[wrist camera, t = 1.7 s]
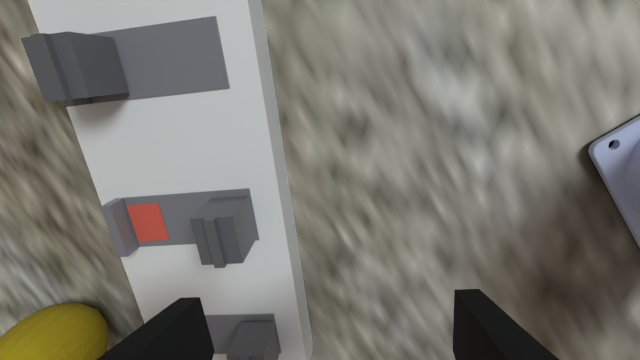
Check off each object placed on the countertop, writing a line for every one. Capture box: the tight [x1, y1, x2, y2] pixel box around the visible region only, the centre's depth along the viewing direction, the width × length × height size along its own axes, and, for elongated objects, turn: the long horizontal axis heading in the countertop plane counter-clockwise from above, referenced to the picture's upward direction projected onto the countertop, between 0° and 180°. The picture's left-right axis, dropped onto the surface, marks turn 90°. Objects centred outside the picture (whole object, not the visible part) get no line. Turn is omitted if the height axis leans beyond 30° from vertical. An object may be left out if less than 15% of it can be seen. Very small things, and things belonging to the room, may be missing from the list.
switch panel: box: [28, 0, 313, 360], centre depth 18 cm, size 23×10×4 cm, turn 6°
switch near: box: [21, 31, 129, 102], centre depth 13 cm, size 2×2×3 cm
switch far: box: [226, 321, 280, 360], centre depth 18 cm, size 2×2×3 cm
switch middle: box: [190, 196, 257, 268], centre depth 15 cm, size 2×2×3 cm
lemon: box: [0, 303, 109, 360], centre depth 20 cm, size 6×6×8 cm
